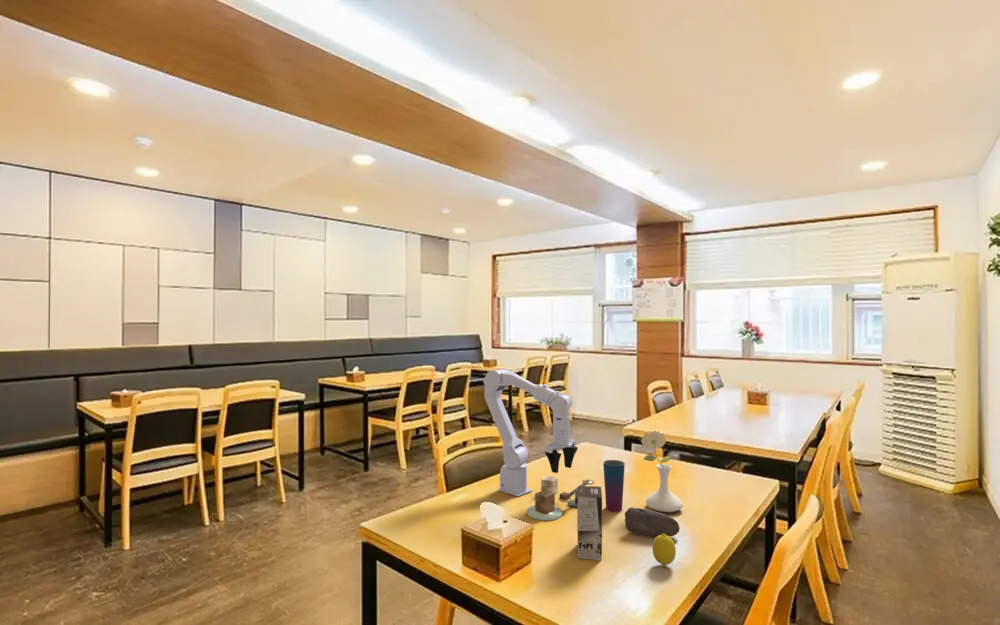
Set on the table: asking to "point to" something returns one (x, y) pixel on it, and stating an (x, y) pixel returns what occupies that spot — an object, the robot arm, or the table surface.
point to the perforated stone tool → (650, 522)
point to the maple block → (549, 484)
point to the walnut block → (545, 502)
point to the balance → (566, 496)
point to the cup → (614, 484)
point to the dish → (544, 517)
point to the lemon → (664, 549)
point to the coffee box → (589, 522)
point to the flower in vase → (663, 496)
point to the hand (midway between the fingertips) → (561, 469)
